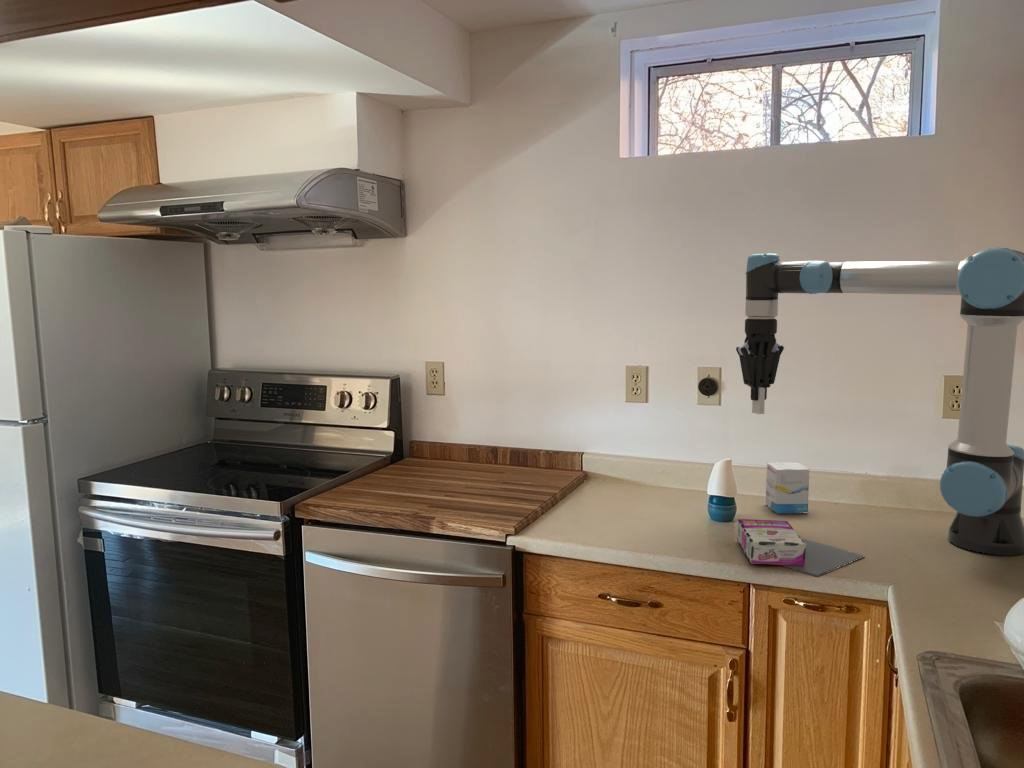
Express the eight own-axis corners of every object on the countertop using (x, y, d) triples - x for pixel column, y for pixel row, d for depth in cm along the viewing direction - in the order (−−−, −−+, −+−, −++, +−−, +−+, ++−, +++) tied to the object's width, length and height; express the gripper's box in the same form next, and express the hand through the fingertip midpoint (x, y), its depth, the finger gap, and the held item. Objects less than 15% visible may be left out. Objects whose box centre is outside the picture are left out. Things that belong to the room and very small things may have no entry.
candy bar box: (736, 539, 176) (749, 564, 160) (737, 518, 176) (750, 541, 159) (787, 541, 175) (805, 566, 159) (788, 520, 174) (806, 543, 158)
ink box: (808, 513, 197) (810, 469, 195) (775, 514, 197) (776, 469, 196) (797, 504, 205) (798, 461, 204) (764, 504, 206) (766, 461, 204)
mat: (864, 557, 165) (864, 555, 165) (817, 576, 154) (817, 575, 154) (789, 536, 179) (789, 534, 179) (741, 552, 168) (741, 551, 168)
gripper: (771, 316, 194) (768, 409, 197) (729, 317, 190) (726, 412, 193) (793, 317, 188) (789, 413, 190) (749, 319, 183) (746, 417, 186)
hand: (758, 413), depth 192 cm, fingers closed
